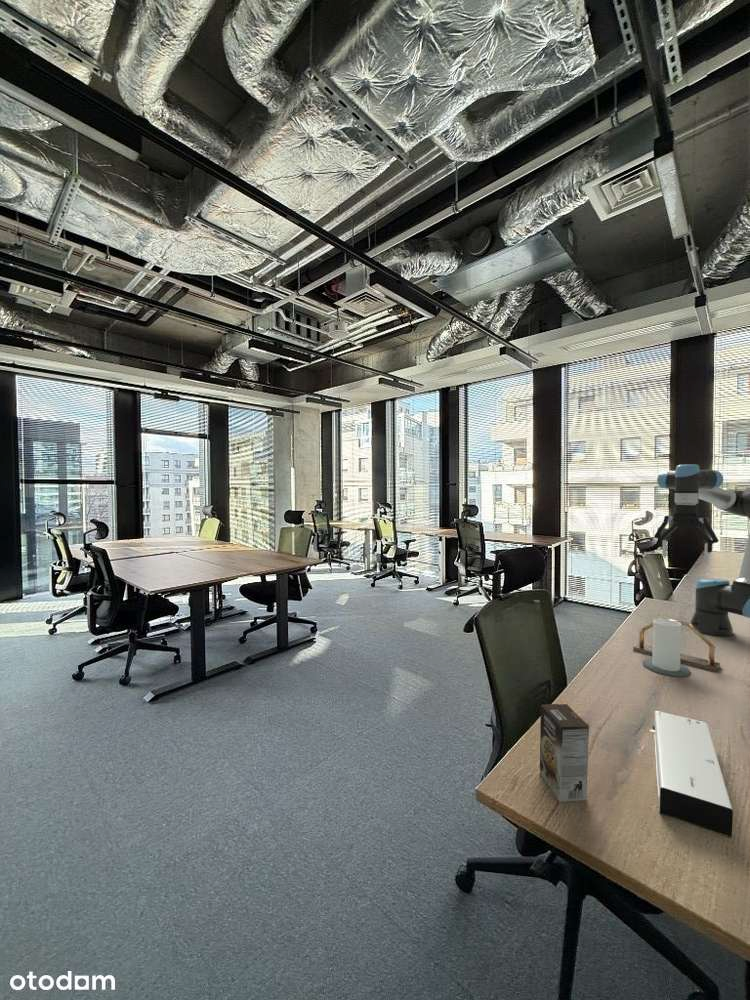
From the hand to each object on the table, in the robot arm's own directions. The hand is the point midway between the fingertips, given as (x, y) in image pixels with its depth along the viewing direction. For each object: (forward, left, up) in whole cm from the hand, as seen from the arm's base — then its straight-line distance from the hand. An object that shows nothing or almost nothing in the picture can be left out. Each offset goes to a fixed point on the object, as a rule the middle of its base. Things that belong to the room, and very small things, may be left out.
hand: (684, 558), depth 166 cm
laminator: (+86, +18, -37) cm, 96 cm away
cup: (+23, 0, -36) cm, 43 cm away
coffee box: (+110, +1, -37) cm, 116 cm away
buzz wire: (+11, 0, -37) cm, 38 cm away
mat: (+23, 0, -37) cm, 43 cm away
